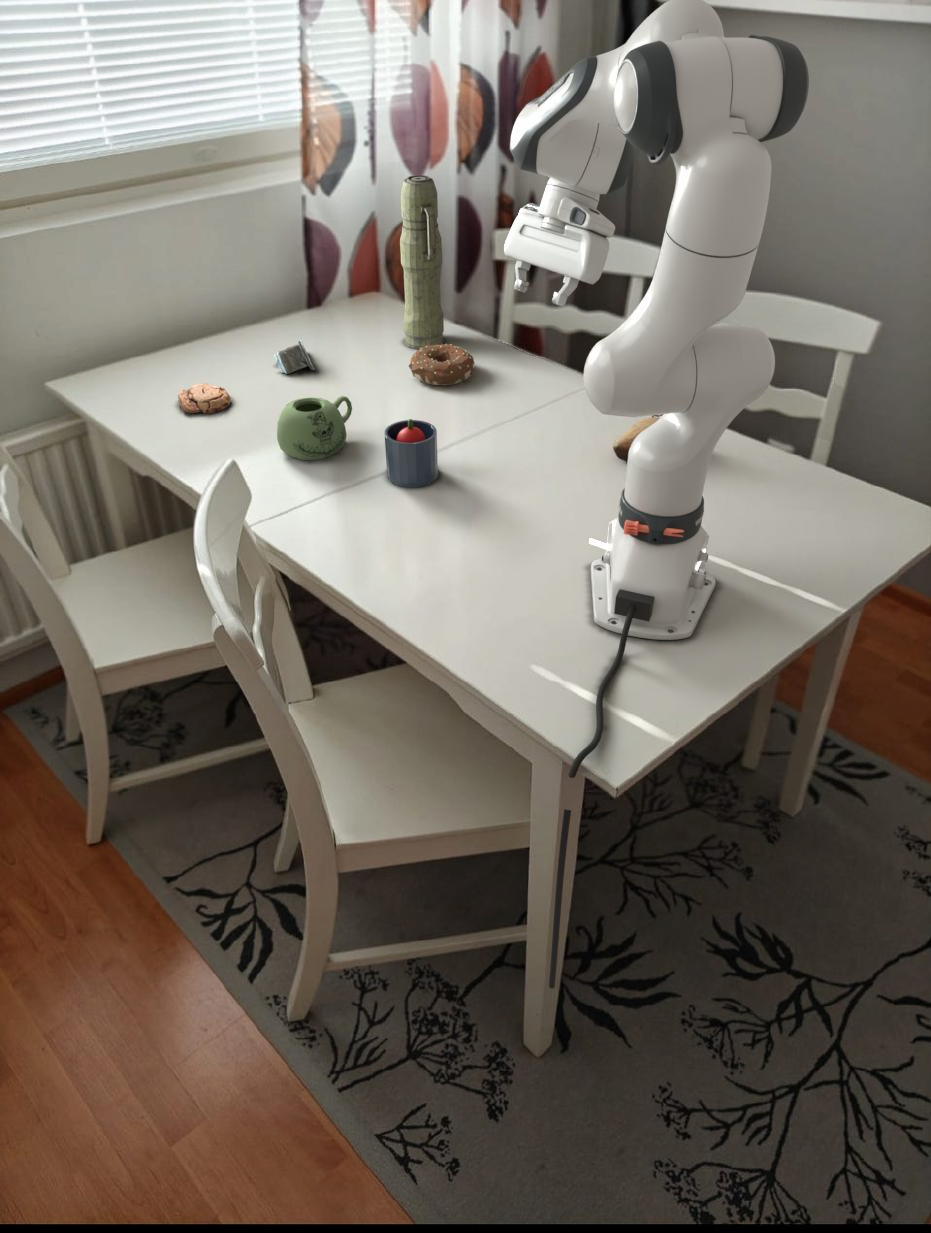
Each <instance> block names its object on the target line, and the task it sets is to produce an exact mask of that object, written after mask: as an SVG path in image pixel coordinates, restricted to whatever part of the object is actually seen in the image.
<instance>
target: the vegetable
mask: <svg viewBox="0 0 931 1233" xmlns="http://www.w3.org/2000/svg"><path fill="white" fill-rule="evenodd" d="M662 415H663V414H661V415H652V416H650V417H646V418H643V419H641V420H638V421H637V422H635V424H633V425H632V426H631V427H630V428H629V429H627V431H625V433H623V434H622V436H620V437H619V438H618V439H617V440H615V441H614V442H613V445H612V449H613V452H614V454H615V456H616V457H617V458H618V459H620V460H622V461H628V453H629V449H630V447H631V444H632V443H633V441H634V439H635V438H636V437H637V436H638V434H640V433H641V432H642V431H643V430H645V429H646V428H648V427H649V426H651V425H652V424H654V423H655V422H656V421H657V420H659V419H660V418H661V417H662Z"/></svg>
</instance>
